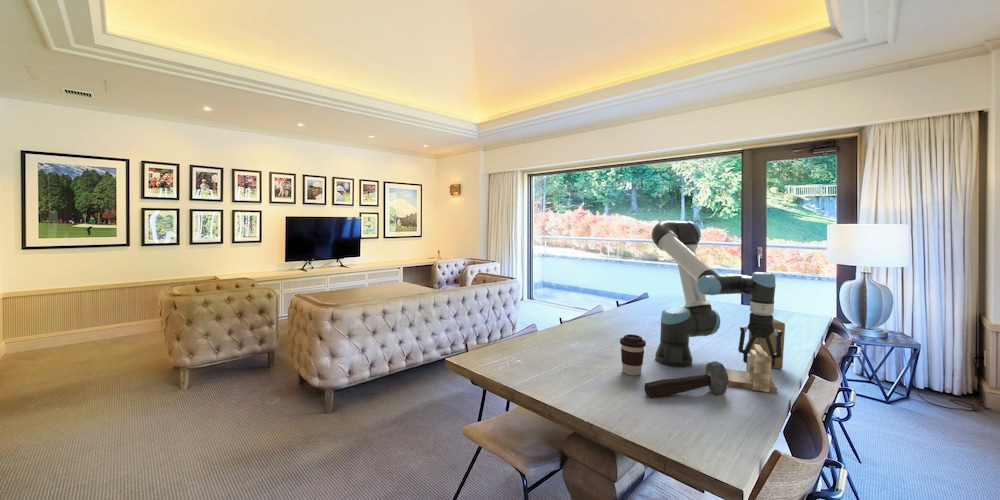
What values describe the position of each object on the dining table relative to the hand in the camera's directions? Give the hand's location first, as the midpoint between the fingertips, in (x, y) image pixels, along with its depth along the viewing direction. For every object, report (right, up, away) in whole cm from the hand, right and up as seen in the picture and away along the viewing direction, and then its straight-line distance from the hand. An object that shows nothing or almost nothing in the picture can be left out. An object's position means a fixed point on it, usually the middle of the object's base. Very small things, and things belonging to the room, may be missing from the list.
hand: (758, 372), depth 154 cm
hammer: (-33, -5, -10) cm, 34 cm away
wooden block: (+16, -3, +21) cm, 27 cm away
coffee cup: (-45, -3, +10) cm, 46 cm away
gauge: (-1, -4, -1) cm, 4 cm away
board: (-5, -4, +2) cm, 7 cm away
